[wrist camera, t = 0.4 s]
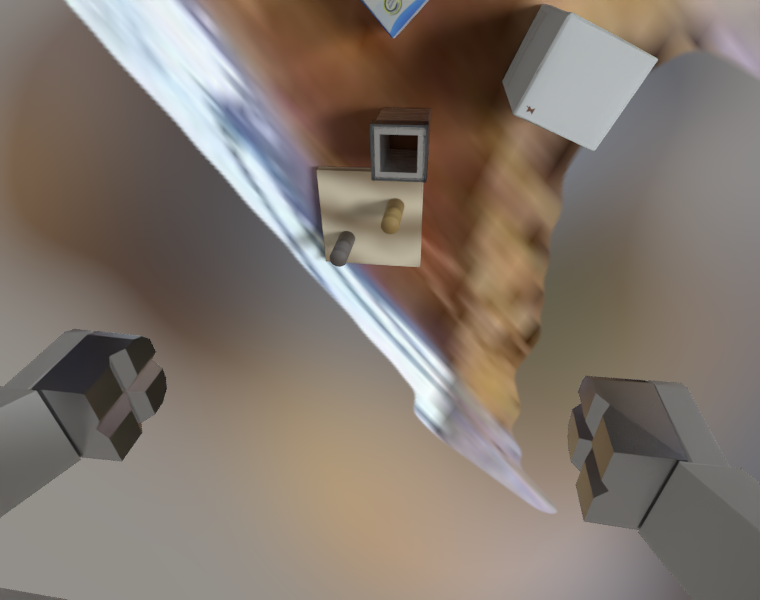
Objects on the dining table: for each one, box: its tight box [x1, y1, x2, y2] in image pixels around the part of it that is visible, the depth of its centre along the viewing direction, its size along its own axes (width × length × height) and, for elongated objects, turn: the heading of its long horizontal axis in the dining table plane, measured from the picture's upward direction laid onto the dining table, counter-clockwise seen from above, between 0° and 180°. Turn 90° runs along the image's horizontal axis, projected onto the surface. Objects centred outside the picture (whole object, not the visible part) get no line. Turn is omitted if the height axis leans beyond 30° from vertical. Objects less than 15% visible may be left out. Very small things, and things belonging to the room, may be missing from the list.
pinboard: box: [317, 166, 423, 267], centre depth 54 cm, size 12×12×6 cm
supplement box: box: [502, 4, 658, 151], centre depth 39 cm, size 7×7×13 cm
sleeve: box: [370, 108, 431, 182], centre depth 47 cm, size 5×5×7 cm
